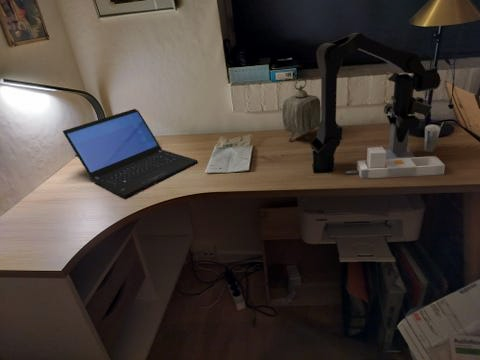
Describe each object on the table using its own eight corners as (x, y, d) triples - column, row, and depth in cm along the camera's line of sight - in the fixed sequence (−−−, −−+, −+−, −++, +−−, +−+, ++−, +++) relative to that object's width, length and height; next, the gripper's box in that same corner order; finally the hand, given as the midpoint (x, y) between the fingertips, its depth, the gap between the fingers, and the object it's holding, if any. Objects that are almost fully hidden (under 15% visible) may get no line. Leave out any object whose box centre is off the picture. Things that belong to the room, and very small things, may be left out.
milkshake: (441, 152, 114) (445, 124, 109) (424, 153, 115) (428, 125, 110) (437, 147, 117) (441, 120, 113) (420, 148, 119) (424, 121, 114)
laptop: (125, 201, 111) (107, 147, 102) (78, 175, 135) (61, 130, 126) (199, 163, 131) (190, 116, 123) (147, 147, 156) (136, 107, 147)
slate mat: (385, 162, 112) (385, 161, 112) (378, 151, 121) (378, 149, 120) (417, 160, 110) (417, 159, 110) (407, 149, 119) (407, 148, 119)
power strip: (347, 179, 105) (348, 169, 103) (344, 169, 111) (344, 159, 109) (443, 174, 100) (445, 163, 99) (434, 164, 106) (436, 154, 105)
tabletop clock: (305, 131, 148) (303, 74, 136) (322, 135, 141) (322, 75, 130) (284, 142, 140) (280, 81, 128) (301, 146, 133) (298, 83, 122)
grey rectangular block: (392, 153, 113) (395, 127, 109) (388, 148, 117) (391, 123, 113) (406, 152, 112) (409, 126, 108) (402, 147, 116) (405, 122, 112)
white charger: (369, 176, 105) (370, 153, 101) (366, 170, 109) (367, 147, 105) (384, 175, 104) (386, 152, 101) (380, 169, 108) (382, 146, 104)
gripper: (442, 99, 96) (434, 148, 103) (419, 85, 112) (414, 128, 120) (402, 102, 98) (397, 151, 105) (385, 88, 114) (381, 131, 121)
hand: (398, 139), depth 113 cm, fingers closed on grey rectangular block, 4 cm apart
